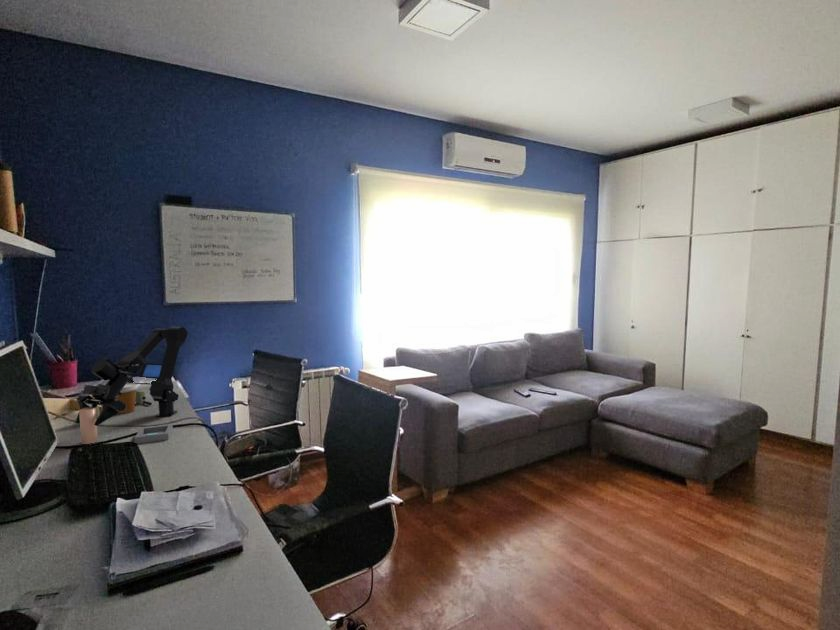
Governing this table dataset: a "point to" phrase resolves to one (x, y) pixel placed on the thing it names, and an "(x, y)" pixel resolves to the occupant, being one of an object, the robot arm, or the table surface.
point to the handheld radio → (141, 397)
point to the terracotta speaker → (88, 425)
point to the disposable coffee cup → (128, 397)
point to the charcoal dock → (154, 433)
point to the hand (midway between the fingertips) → (86, 424)
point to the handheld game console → (150, 370)
